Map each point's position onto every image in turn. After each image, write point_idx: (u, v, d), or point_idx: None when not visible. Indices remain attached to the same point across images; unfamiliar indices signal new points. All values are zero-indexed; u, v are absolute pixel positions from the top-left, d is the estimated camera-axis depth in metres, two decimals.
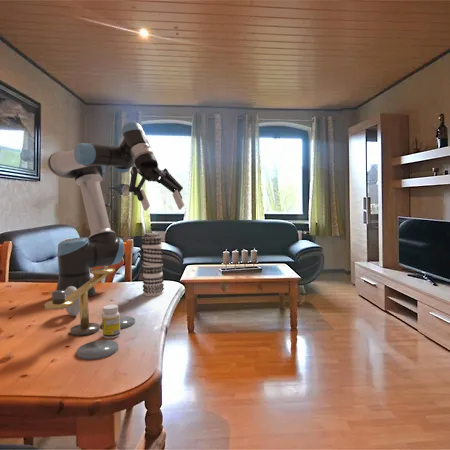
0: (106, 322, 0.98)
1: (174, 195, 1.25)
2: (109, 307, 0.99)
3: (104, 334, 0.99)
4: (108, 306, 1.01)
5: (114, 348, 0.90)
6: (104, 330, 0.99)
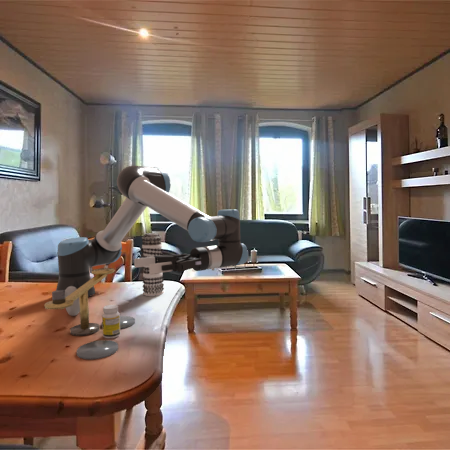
0: (106, 322, 0.98)
1: (151, 259, 1.13)
2: (109, 307, 0.99)
3: (104, 334, 0.99)
4: (108, 306, 1.01)
5: (114, 348, 0.90)
6: (104, 330, 0.99)
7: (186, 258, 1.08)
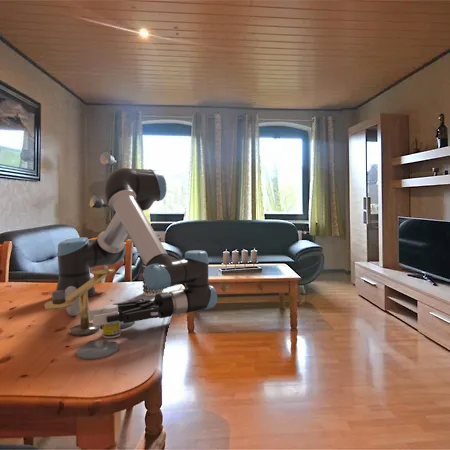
0: None
1: None
2: (109, 307, 0.99)
3: (104, 334, 0.99)
4: (108, 306, 1.01)
5: (114, 348, 0.90)
6: (104, 330, 0.99)
7: (143, 307, 1.03)
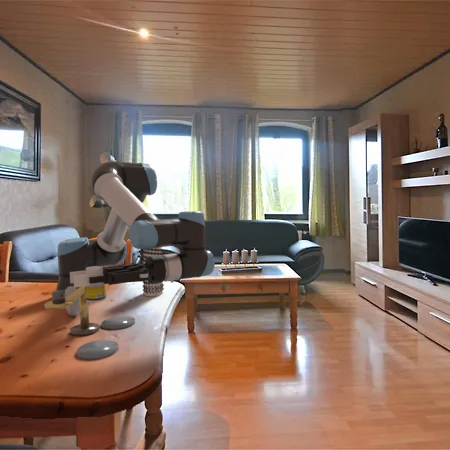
0: None
1: None
2: (93, 268, 0.88)
3: (87, 298, 0.88)
4: (91, 267, 0.89)
5: (114, 348, 0.90)
6: (87, 293, 0.88)
7: (131, 269, 0.92)
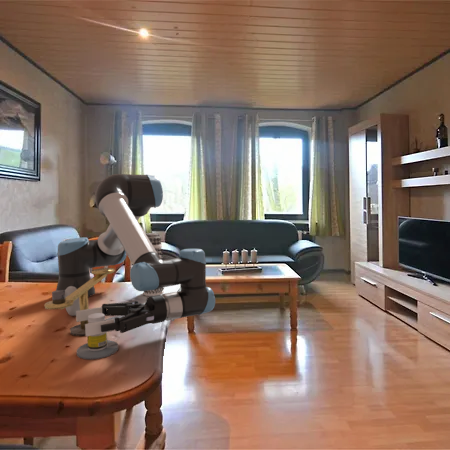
0: None
1: (97, 311, 0.96)
2: (95, 317, 0.89)
3: (89, 346, 0.89)
4: (93, 315, 0.90)
5: (114, 348, 0.90)
6: (89, 342, 0.89)
7: (137, 312, 0.92)
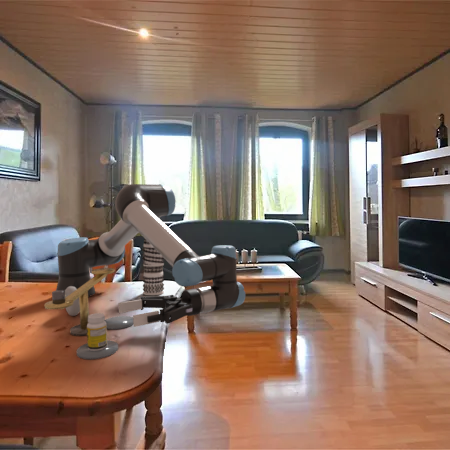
0: (91, 333, 0.88)
1: (138, 303, 1.02)
2: (95, 316, 0.89)
3: (89, 346, 0.89)
4: (93, 315, 0.90)
5: (114, 348, 0.90)
6: (89, 342, 0.89)
7: (176, 304, 0.97)
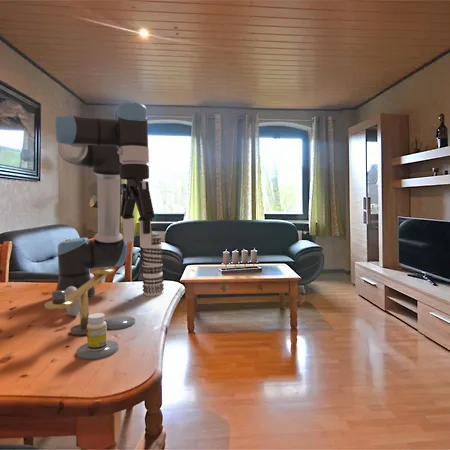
0: (91, 333, 0.88)
1: None
2: (95, 316, 0.89)
3: (89, 346, 0.89)
4: (93, 315, 0.90)
5: (114, 348, 0.90)
6: (89, 342, 0.89)
7: None
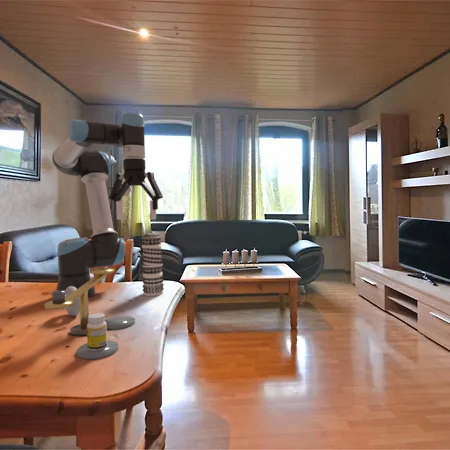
0: (91, 333, 0.88)
1: None
2: (95, 317, 0.89)
3: (89, 346, 0.89)
4: (93, 315, 0.90)
5: (114, 348, 0.90)
6: (89, 342, 0.89)
7: None
